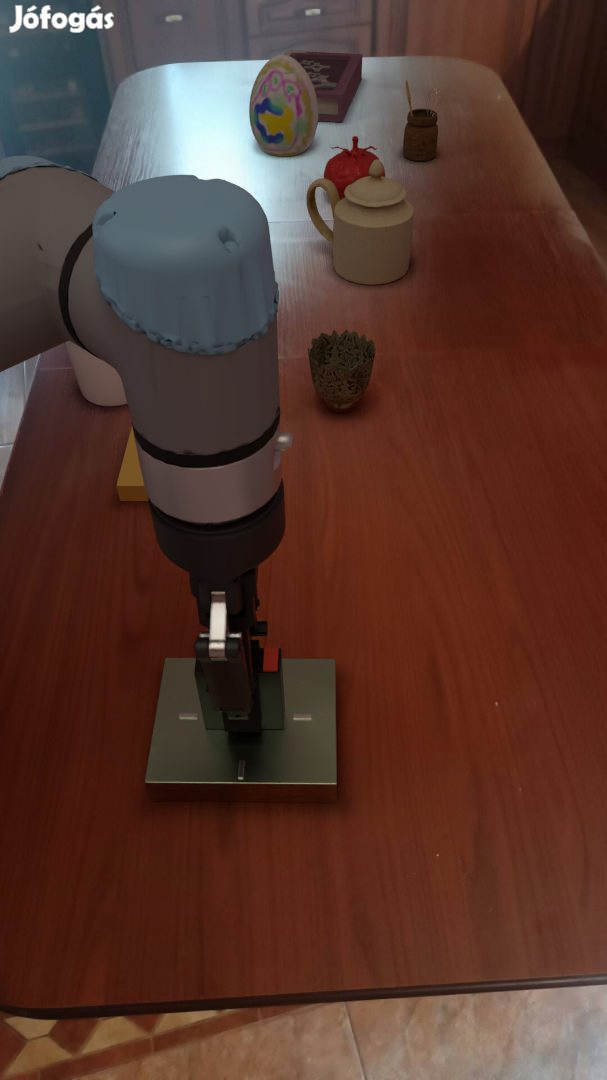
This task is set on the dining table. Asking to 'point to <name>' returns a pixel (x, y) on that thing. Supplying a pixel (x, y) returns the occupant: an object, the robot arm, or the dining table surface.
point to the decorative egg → (283, 107)
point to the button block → (131, 475)
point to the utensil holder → (420, 132)
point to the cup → (341, 368)
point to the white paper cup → (95, 377)
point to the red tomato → (349, 166)
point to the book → (331, 80)
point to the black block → (269, 690)
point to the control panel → (246, 742)
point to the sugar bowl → (367, 227)
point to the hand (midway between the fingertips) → (244, 709)
